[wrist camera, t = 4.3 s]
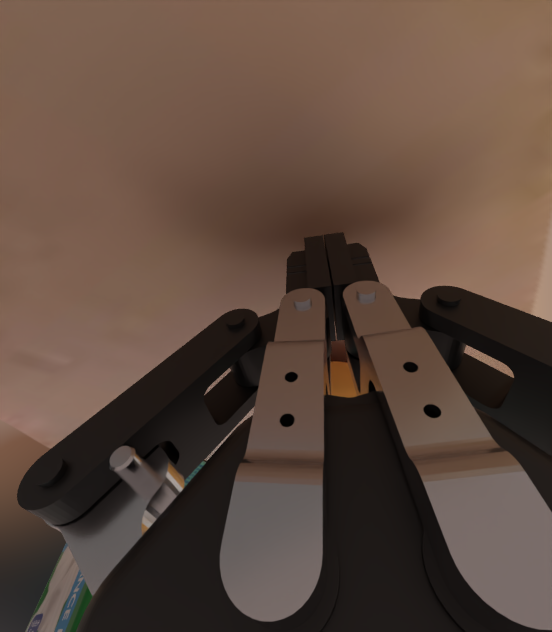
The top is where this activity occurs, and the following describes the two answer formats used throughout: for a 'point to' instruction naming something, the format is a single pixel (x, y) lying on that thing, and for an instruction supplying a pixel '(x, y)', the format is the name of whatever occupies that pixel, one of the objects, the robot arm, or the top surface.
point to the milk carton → (66, 594)
